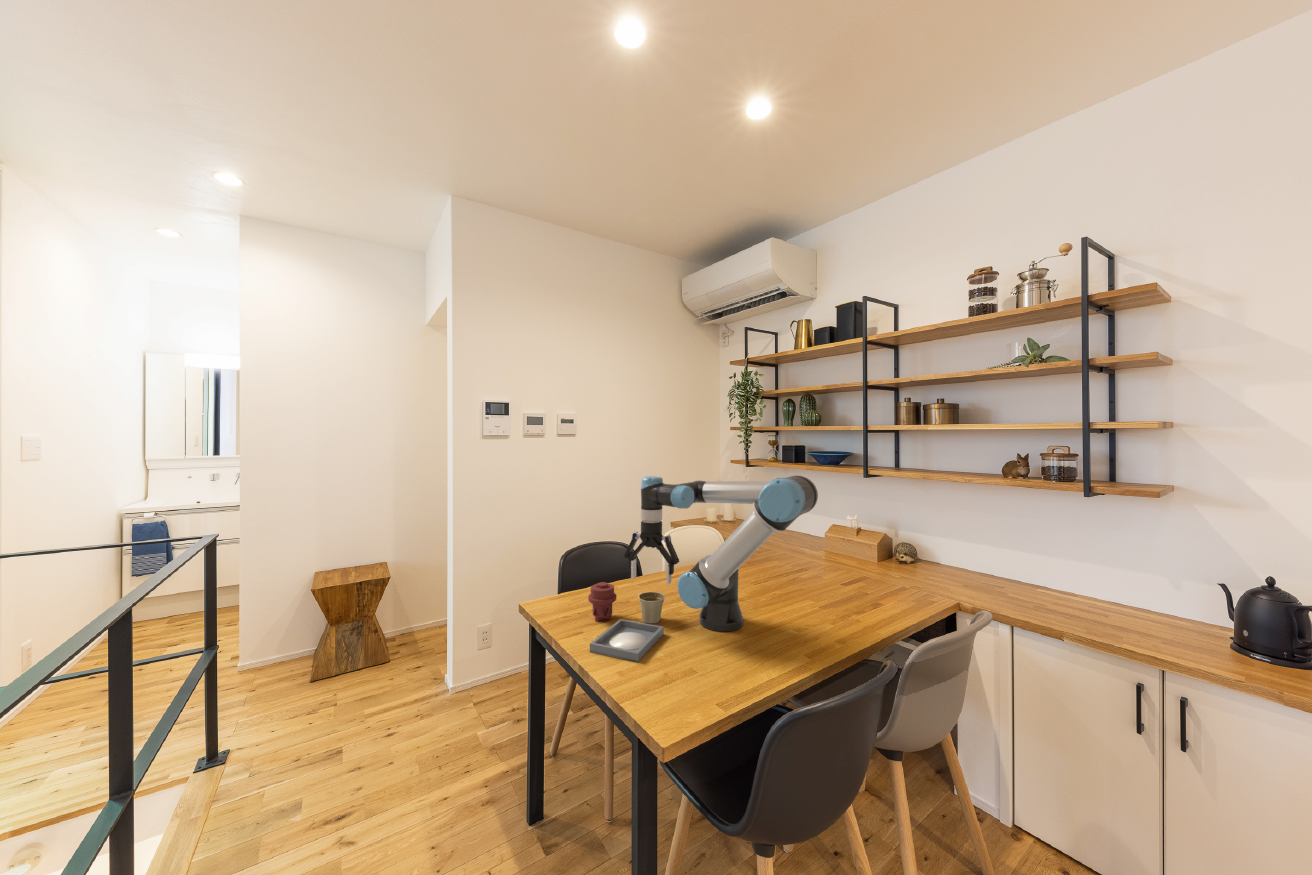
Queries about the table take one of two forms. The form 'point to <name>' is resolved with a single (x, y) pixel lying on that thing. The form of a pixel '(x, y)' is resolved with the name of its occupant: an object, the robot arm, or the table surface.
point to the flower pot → (651, 606)
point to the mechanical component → (602, 600)
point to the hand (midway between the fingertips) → (651, 580)
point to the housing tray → (627, 640)
